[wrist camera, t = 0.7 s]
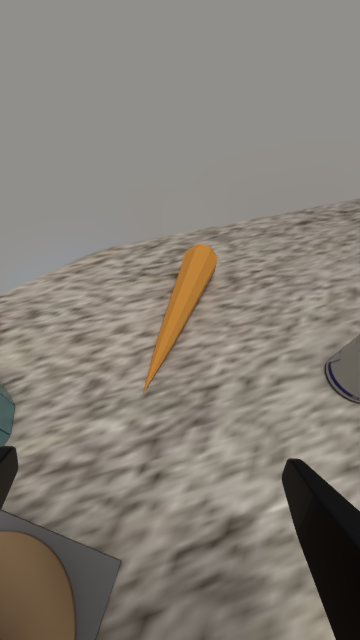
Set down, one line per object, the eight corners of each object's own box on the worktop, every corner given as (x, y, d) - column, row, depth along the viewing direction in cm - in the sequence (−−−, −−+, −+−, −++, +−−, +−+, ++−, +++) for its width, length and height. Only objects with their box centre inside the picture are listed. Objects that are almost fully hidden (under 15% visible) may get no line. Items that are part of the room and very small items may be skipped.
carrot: (192, 265, 37) (184, 238, 33) (223, 265, 35) (217, 237, 31) (133, 396, 26) (112, 377, 23) (171, 407, 24) (155, 388, 21)
